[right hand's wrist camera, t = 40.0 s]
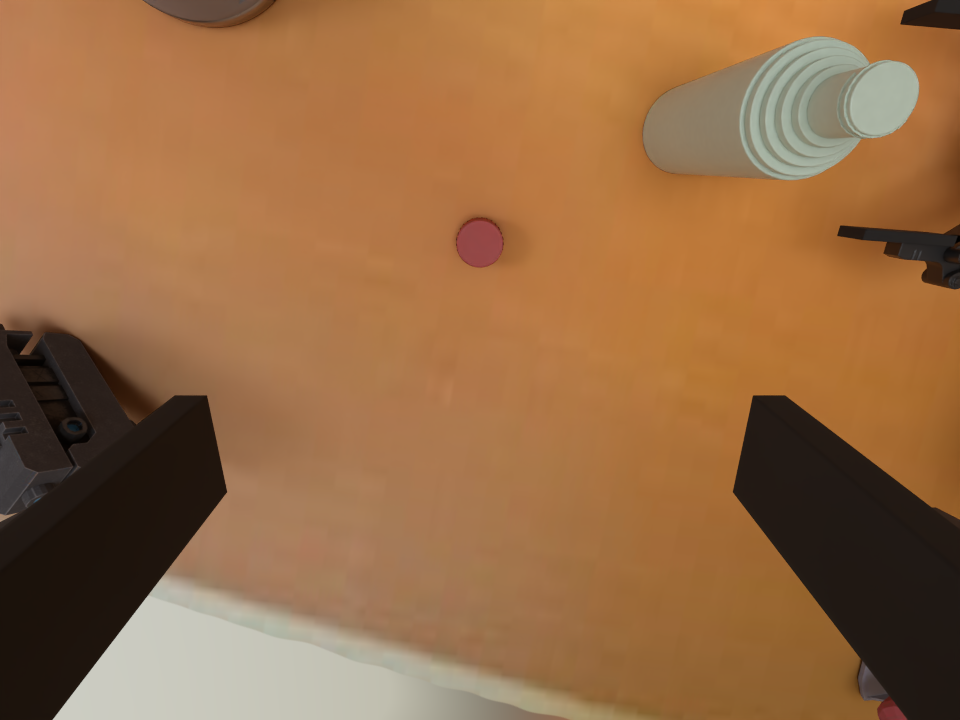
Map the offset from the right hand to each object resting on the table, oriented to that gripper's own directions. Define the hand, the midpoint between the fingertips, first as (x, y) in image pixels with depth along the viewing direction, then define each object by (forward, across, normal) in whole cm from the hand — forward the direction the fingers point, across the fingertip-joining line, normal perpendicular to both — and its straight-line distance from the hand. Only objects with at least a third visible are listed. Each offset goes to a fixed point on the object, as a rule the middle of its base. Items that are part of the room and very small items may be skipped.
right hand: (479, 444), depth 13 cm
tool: (+36, -37, -14) cm, 54 cm away
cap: (+34, 0, 0) cm, 34 cm away
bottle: (+36, +17, +9) cm, 41 cm away
